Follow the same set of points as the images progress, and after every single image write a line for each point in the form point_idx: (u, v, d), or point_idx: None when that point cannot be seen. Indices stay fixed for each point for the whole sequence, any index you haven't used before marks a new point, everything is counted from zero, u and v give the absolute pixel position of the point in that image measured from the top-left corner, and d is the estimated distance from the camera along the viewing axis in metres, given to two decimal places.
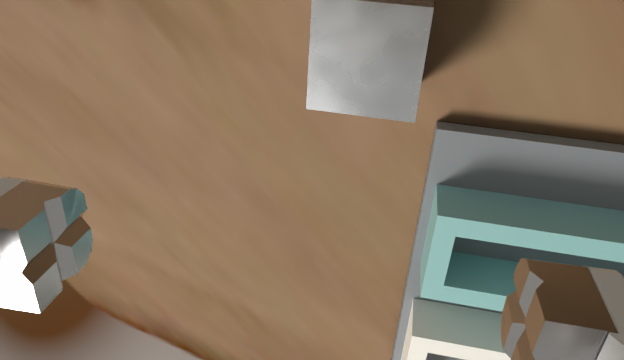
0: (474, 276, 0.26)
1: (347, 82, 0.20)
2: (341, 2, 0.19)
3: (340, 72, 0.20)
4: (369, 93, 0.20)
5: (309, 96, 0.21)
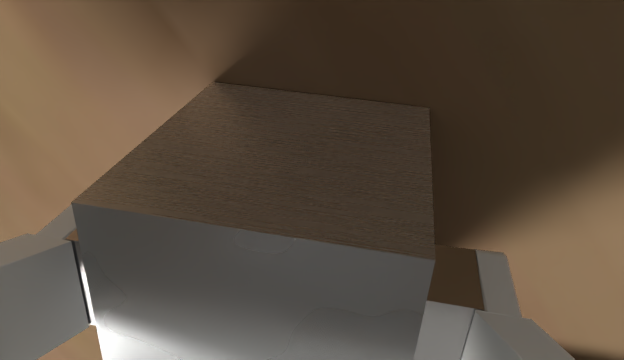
0: None
1: None
2: (156, 223, 0.06)
3: None
4: None
5: None
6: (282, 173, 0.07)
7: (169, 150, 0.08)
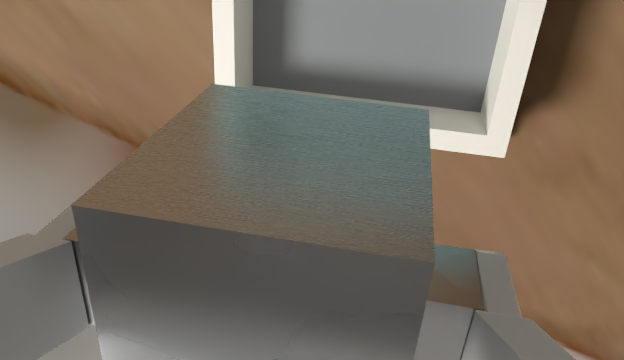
0: None
1: None
2: (155, 226, 0.06)
3: None
4: None
5: None
6: (283, 175, 0.07)
7: (169, 152, 0.08)
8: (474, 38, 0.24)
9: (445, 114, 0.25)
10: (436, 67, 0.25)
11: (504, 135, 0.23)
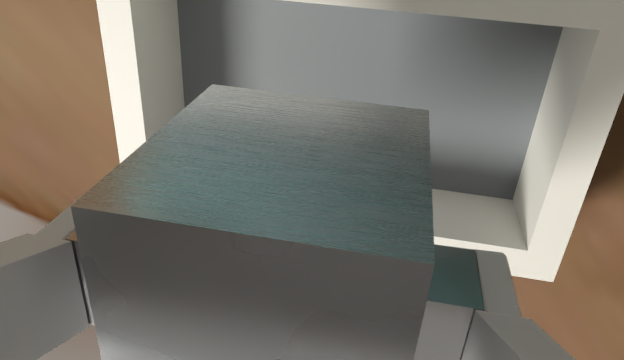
0: None
1: None
2: (156, 227, 0.06)
3: None
4: None
5: None
6: (282, 176, 0.07)
7: (168, 153, 0.08)
8: (506, 98, 0.16)
9: (462, 205, 0.17)
10: (449, 137, 0.17)
11: (554, 251, 0.15)
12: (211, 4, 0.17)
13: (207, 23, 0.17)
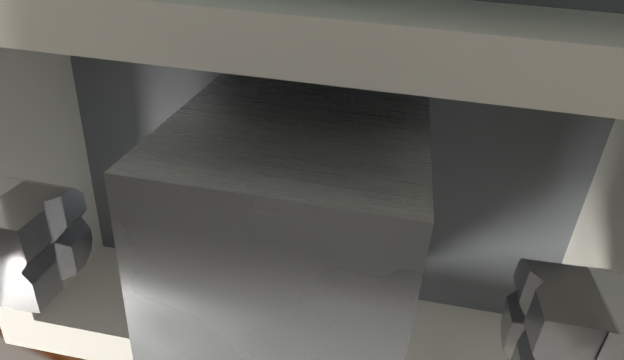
0: None
1: (222, 355, 0.08)
2: (181, 191, 0.07)
3: (203, 335, 0.08)
4: None
5: None
6: (294, 150, 0.08)
7: (188, 130, 0.08)
8: (536, 191, 0.11)
9: (471, 333, 0.12)
10: (453, 238, 0.12)
11: None
12: None
13: (114, 81, 0.12)
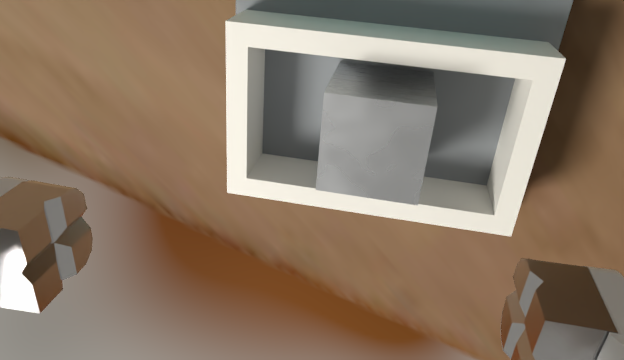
0: None
1: (355, 168, 0.22)
2: (351, 98, 0.20)
3: (349, 159, 0.22)
4: (376, 178, 0.22)
5: (319, 179, 0.22)
6: (384, 88, 0.21)
7: (342, 81, 0.22)
8: (481, 117, 0.25)
9: (452, 188, 0.26)
10: (444, 142, 0.26)
11: (511, 215, 0.24)
12: (288, 53, 0.25)
13: (284, 66, 0.25)
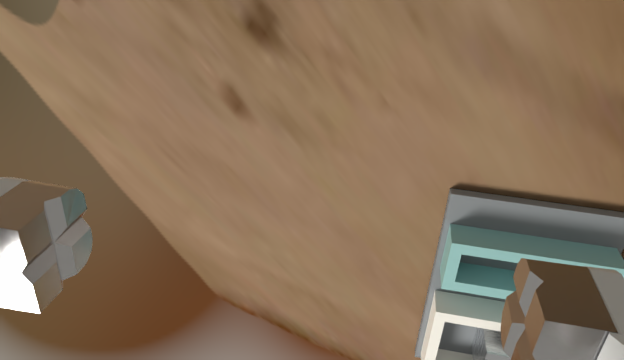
0: (472, 276, 0.45)
1: None
2: (499, 356, 0.45)
3: None
4: None
5: None
6: None
7: (490, 339, 0.46)
8: None
9: None
10: None
11: None
12: None
13: None
